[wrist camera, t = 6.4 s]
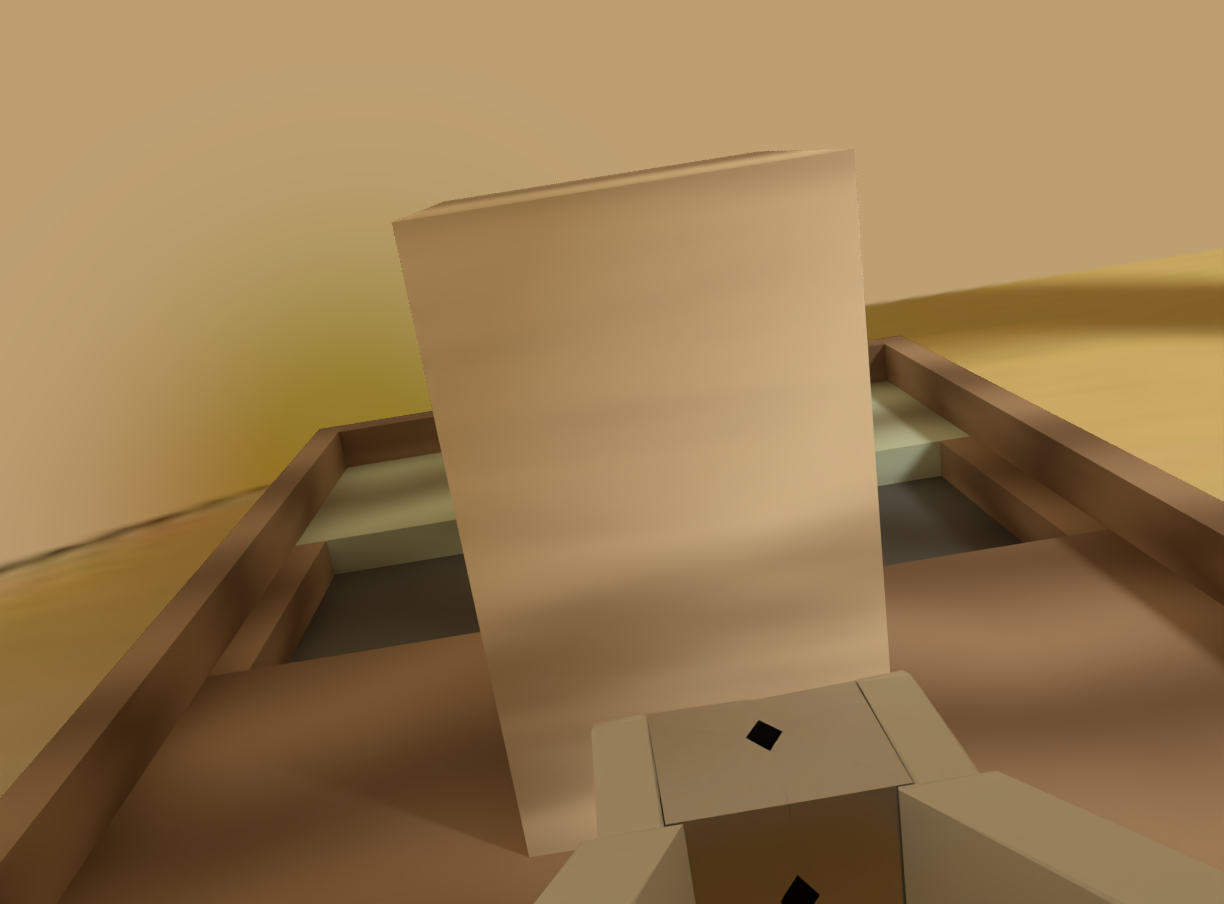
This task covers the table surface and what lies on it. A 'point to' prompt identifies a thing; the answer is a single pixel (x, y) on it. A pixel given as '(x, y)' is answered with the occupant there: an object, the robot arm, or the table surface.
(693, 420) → the maple block
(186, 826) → the tray
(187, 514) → the table surface
